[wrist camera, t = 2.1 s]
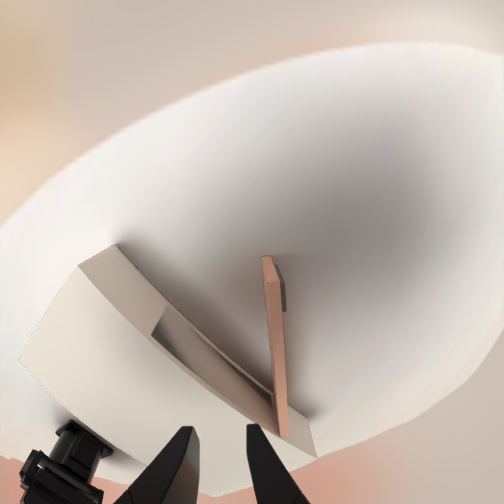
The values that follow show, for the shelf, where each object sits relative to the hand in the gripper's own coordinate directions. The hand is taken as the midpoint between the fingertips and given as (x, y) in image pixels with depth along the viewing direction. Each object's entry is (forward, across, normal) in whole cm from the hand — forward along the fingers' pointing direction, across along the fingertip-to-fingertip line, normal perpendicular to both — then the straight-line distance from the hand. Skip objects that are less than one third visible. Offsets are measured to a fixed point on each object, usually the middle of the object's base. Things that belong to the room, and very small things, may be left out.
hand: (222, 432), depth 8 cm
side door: (+11, -3, +3) cm, 11 cm away
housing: (+11, +6, +8) cm, 15 cm away
